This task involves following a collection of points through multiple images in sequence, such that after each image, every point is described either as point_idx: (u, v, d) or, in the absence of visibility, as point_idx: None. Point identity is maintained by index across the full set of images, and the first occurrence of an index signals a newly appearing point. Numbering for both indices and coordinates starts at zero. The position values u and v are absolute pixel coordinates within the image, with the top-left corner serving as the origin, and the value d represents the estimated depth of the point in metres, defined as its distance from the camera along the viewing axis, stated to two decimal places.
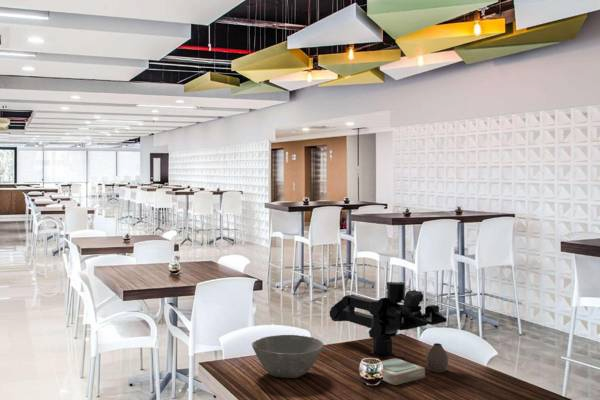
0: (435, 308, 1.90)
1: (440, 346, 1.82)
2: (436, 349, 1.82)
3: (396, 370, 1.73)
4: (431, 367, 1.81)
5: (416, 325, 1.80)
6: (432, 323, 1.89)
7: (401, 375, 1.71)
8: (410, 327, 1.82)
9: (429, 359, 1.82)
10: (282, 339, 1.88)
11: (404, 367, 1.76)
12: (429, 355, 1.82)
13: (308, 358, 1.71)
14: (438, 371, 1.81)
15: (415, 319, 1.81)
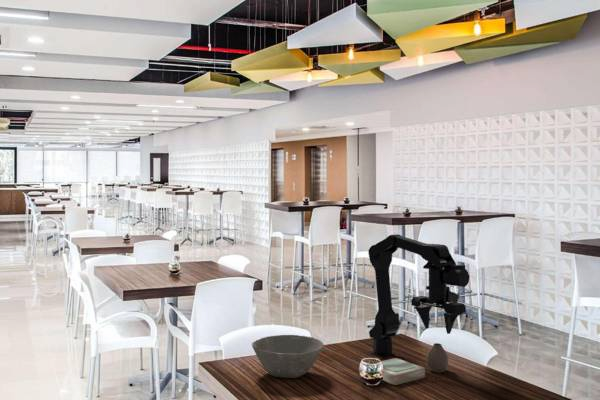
0: None
1: (440, 346, 1.82)
2: (436, 349, 1.82)
3: (396, 370, 1.73)
4: (431, 367, 1.81)
5: (449, 324, 1.78)
6: (421, 309, 1.86)
7: (401, 375, 1.71)
8: (448, 318, 1.77)
9: (429, 359, 1.82)
10: (282, 339, 1.88)
11: (404, 367, 1.76)
12: (429, 355, 1.82)
13: (308, 358, 1.71)
14: (438, 371, 1.81)
15: (453, 322, 1.79)
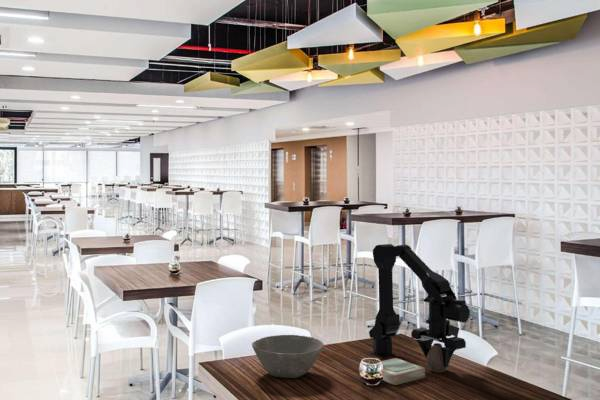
0: None
1: (440, 346, 1.82)
2: (436, 349, 1.82)
3: (396, 370, 1.73)
4: (431, 367, 1.81)
5: (446, 358, 1.79)
6: (423, 343, 1.85)
7: (401, 375, 1.71)
8: (446, 353, 1.78)
9: (429, 359, 1.82)
10: (282, 339, 1.88)
11: (404, 367, 1.76)
12: (429, 355, 1.82)
13: (308, 358, 1.71)
14: (438, 371, 1.81)
15: (450, 356, 1.80)
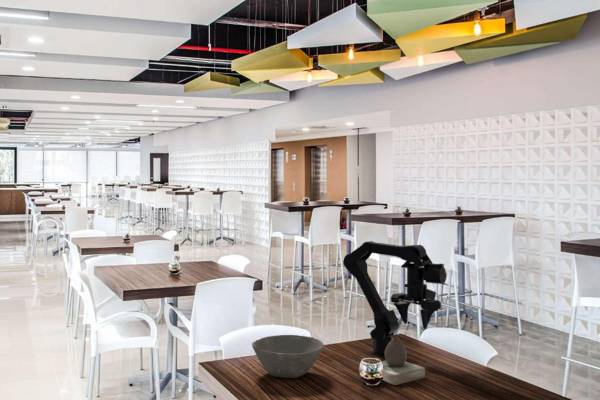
0: None
1: (398, 340, 1.77)
2: (394, 343, 1.76)
3: (396, 370, 1.73)
4: (389, 362, 1.76)
5: (425, 320, 1.89)
6: (399, 306, 1.97)
7: (401, 375, 1.71)
8: (425, 314, 1.88)
9: (386, 353, 1.77)
10: (282, 339, 1.88)
11: (404, 367, 1.76)
12: (387, 349, 1.77)
13: (308, 358, 1.71)
14: (396, 366, 1.76)
15: (429, 318, 1.90)
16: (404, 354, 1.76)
